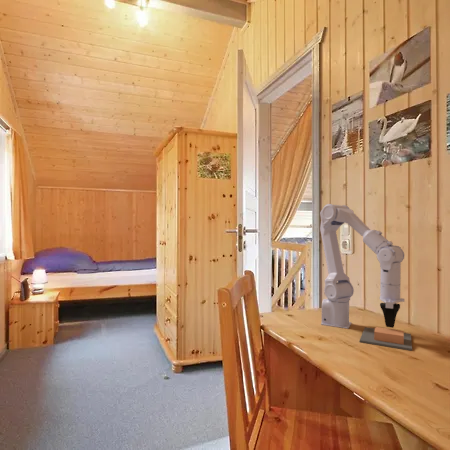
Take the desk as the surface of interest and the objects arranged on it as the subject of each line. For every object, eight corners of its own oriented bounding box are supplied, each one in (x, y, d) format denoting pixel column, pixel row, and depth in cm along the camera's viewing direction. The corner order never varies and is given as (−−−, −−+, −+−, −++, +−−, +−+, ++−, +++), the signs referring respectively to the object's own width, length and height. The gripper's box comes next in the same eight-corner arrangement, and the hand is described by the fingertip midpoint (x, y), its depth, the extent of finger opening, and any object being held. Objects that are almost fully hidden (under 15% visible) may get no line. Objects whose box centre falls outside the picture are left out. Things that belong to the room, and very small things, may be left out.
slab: (375, 334, 107) (374, 339, 102) (375, 326, 107) (374, 331, 102) (403, 338, 103) (403, 344, 98) (403, 330, 103) (403, 336, 98)
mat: (359, 342, 101) (359, 340, 101) (364, 328, 115) (364, 327, 115) (412, 350, 94) (412, 348, 94) (410, 335, 109) (410, 333, 109)
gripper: (404, 288, 96) (404, 335, 96) (404, 282, 109) (404, 323, 109) (378, 286, 100) (377, 331, 100) (380, 280, 113) (380, 320, 112)
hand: (389, 326), depth 104 cm, fingers closed
